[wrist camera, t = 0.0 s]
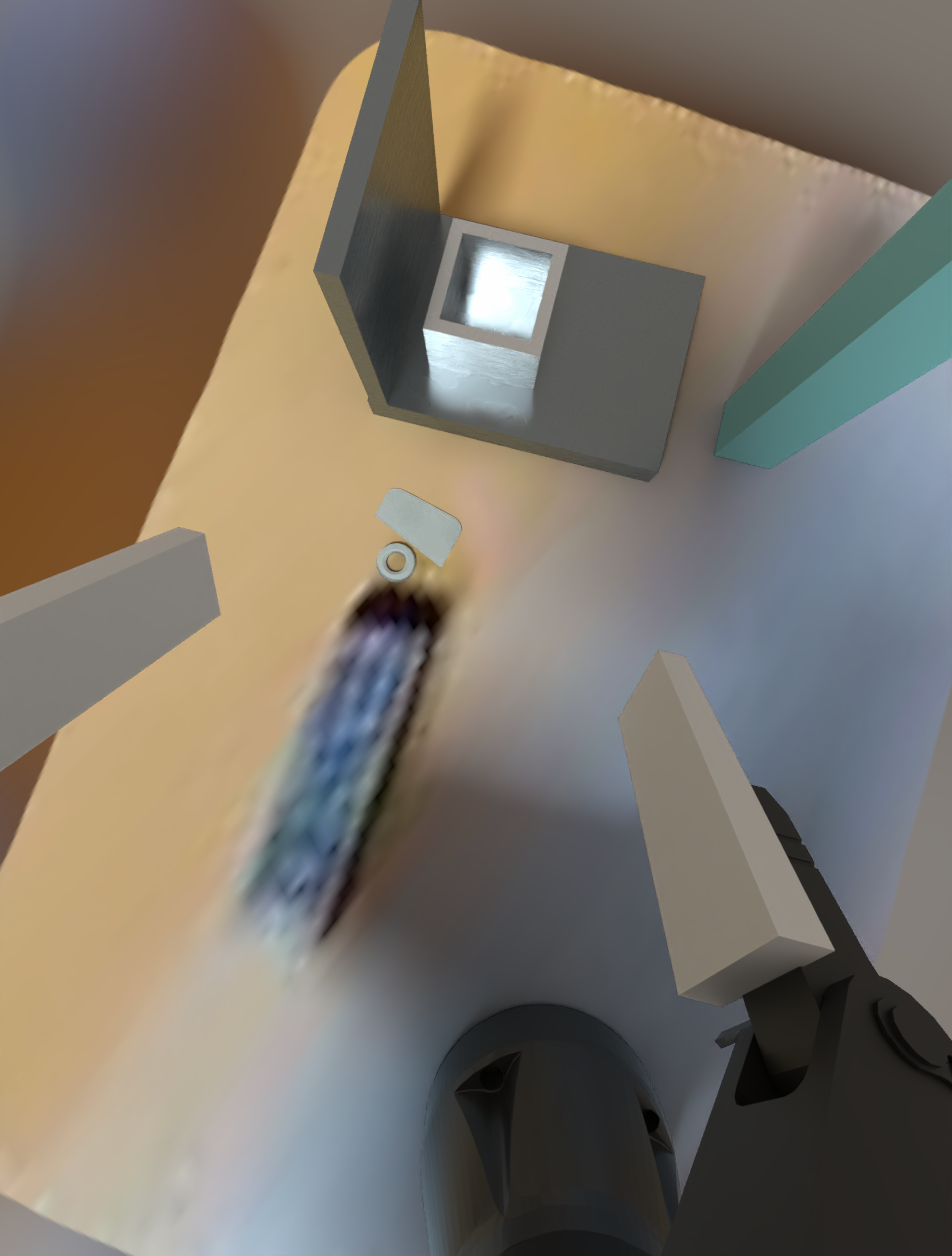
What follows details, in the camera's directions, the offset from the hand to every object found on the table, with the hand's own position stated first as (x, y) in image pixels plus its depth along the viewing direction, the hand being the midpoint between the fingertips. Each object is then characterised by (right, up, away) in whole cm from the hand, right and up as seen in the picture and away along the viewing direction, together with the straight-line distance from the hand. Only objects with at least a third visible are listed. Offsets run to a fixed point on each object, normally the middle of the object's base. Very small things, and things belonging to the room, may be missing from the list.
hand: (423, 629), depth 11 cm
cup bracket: (+6, +20, +16) cm, 26 cm away
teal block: (+21, +14, +16) cm, 29 cm away
